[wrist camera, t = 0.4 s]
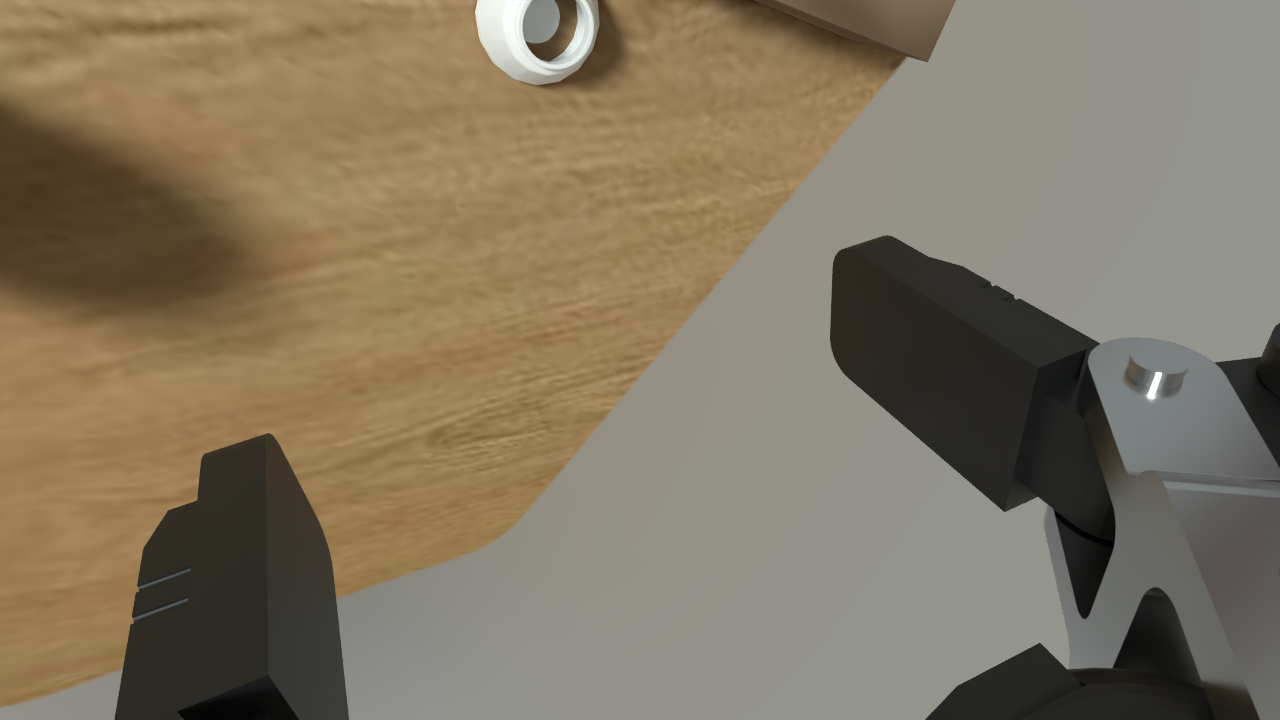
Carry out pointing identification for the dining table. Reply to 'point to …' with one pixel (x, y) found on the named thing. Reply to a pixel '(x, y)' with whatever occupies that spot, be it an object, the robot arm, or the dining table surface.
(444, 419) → the dining table surface
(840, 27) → the low shelf
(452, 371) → the dining table surface
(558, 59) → the white jar
